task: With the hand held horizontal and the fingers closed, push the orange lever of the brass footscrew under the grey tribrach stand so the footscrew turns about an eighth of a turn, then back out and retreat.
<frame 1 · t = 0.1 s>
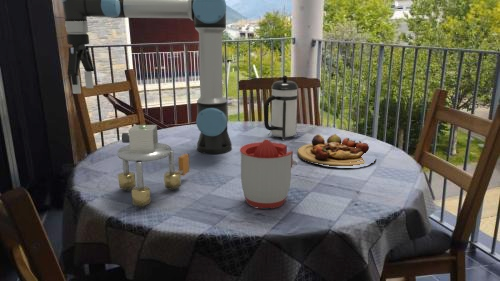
hand: (83, 90, 155), 28 cm above the table, tool pointing down, fingers open, 13 cm apart
citrus juicer: (268, 202, 124), on the table
tribrach stand: (147, 195, 128), on the table
wooden plate with food: (335, 158, 168), on the table
coffee press: (282, 138, 196), on the table
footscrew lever: (177, 166, 134), point 7 cm above the table, hinge at 0.0°
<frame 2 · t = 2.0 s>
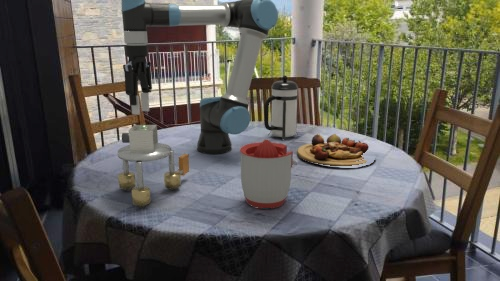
hand: (140, 112, 141), 23 cm above the table, tool pointing down, fingers open, 5 cm apart
nothing on the table moved.
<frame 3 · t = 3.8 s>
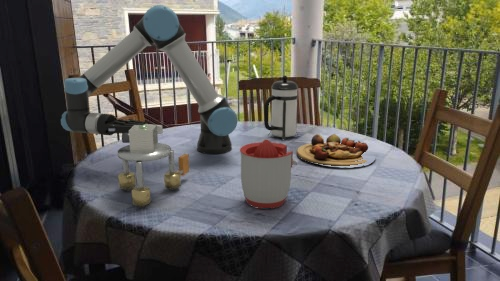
hand: (161, 129, 136), 18 cm above the table, tool horizontal, fingers closed
nothing on the table moved.
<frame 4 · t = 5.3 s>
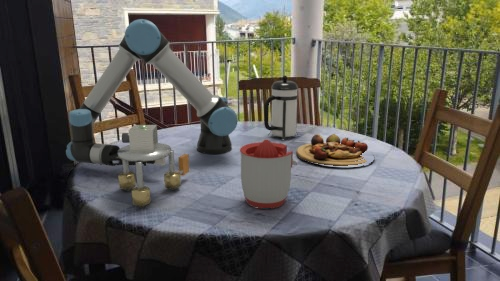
hand: (164, 161, 139), 7 cm above the table, tool horizontal, fingers closed
nothing on the table moved.
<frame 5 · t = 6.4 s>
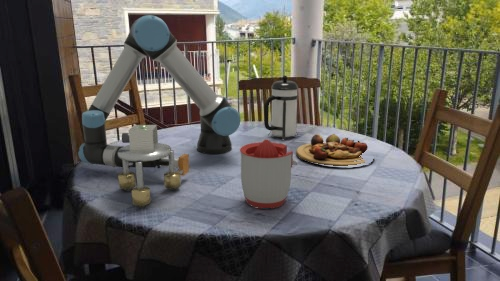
hand: (178, 163, 137), 7 cm above the table, tool horizontal, fingers closed
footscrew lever: (177, 166, 134), point 7 cm above the table, hinge at 0.0°, touching gripper
everything else where it was.
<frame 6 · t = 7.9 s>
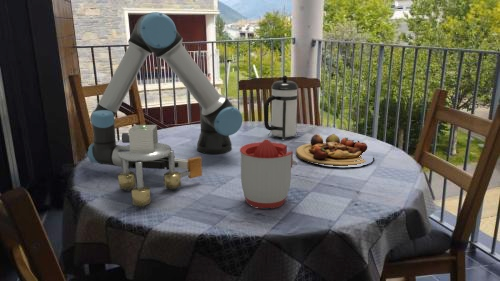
hand: (188, 164, 136), 7 cm above the table, tool horizontal, fingers closed
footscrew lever: (183, 167, 133), point 7 cm above the table, hinge at 34.4°, touching gripper
everything else where it was.
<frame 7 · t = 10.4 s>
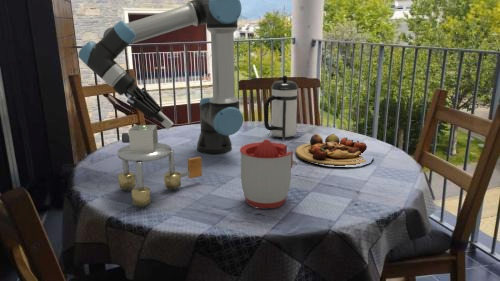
hand: (170, 126, 143), 18 cm above the table, tool tilted 45°, fingers closed
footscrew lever: (183, 167, 133), point 7 cm above the table, hinge at 34.5°
everything else where it was.
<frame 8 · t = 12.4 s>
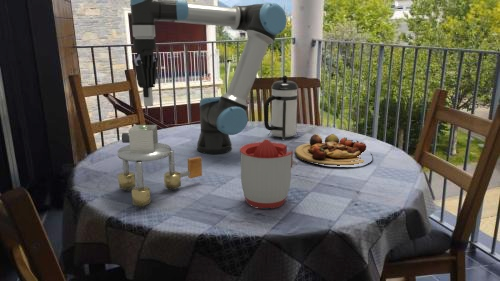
hand: (148, 105, 145), 24 cm above the table, tool pointing down, fingers closed
at the end: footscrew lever at +34° (first picture: +0°); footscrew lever touching nothing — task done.
